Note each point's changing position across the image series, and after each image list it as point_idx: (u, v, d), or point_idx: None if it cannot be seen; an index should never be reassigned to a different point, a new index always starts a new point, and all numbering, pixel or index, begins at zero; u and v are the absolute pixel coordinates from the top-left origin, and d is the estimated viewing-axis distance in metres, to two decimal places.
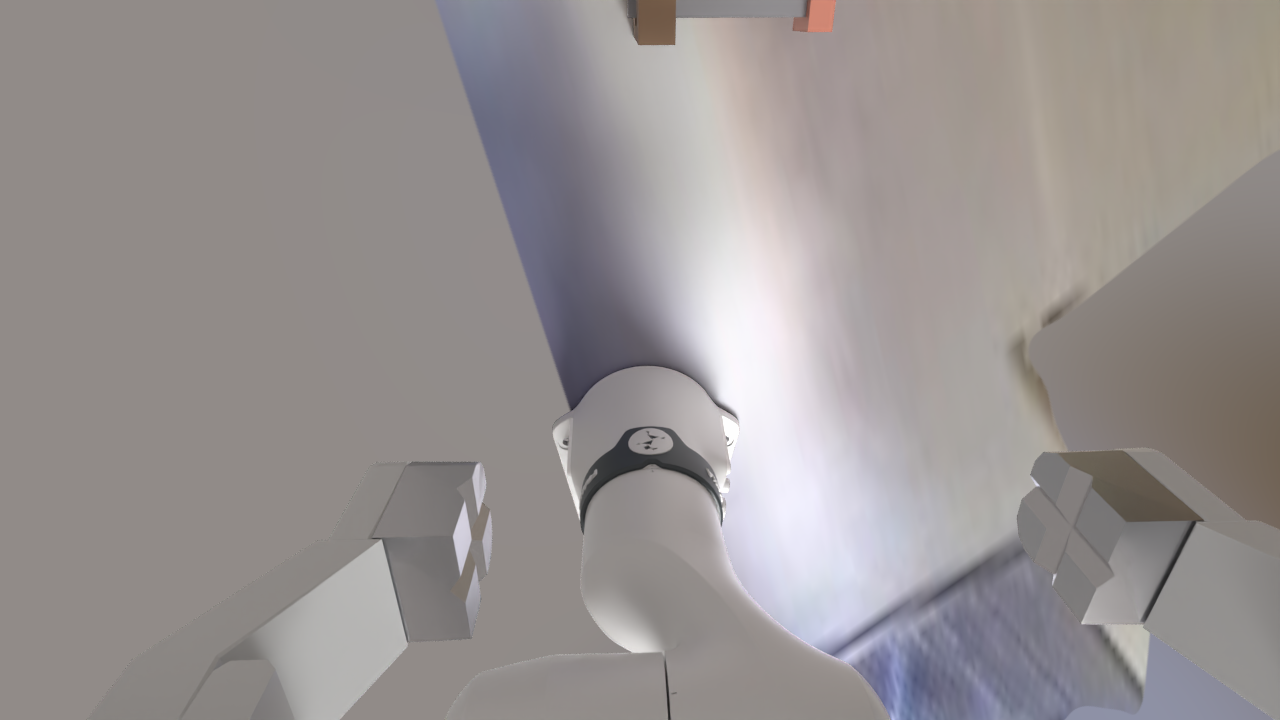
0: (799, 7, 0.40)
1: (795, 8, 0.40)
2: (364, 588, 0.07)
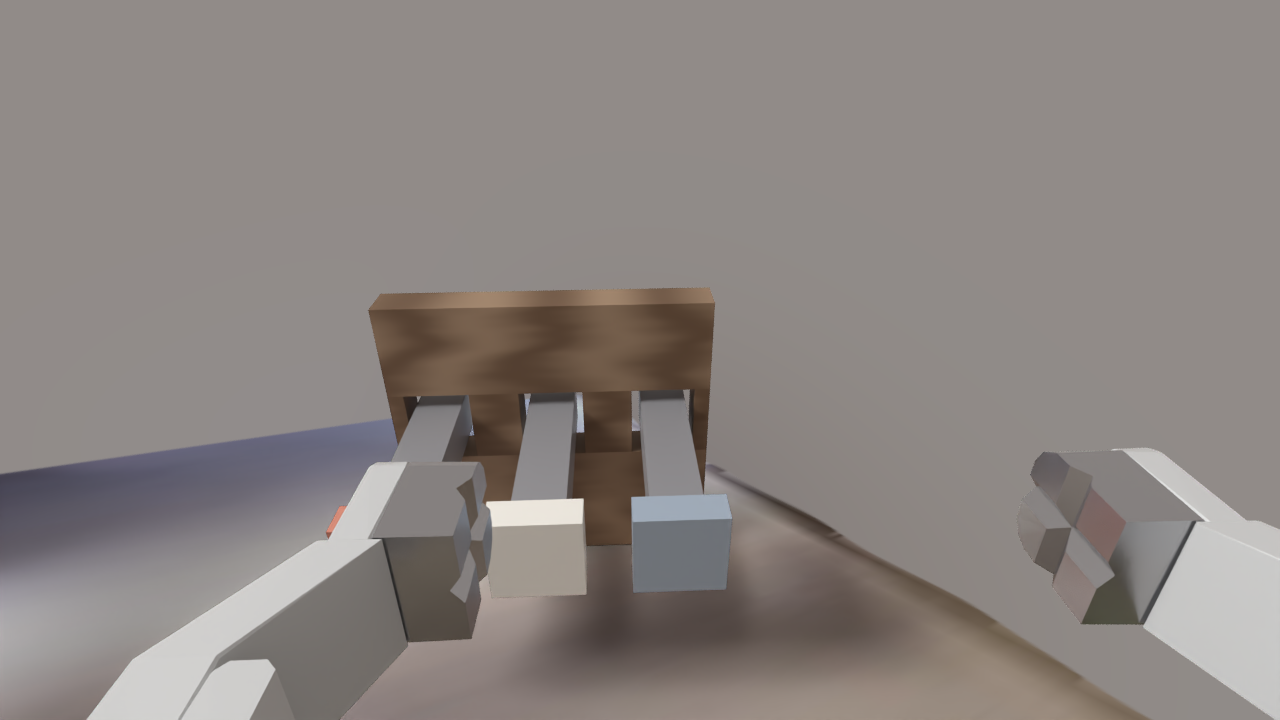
0: None
1: None
2: (364, 588, 0.07)
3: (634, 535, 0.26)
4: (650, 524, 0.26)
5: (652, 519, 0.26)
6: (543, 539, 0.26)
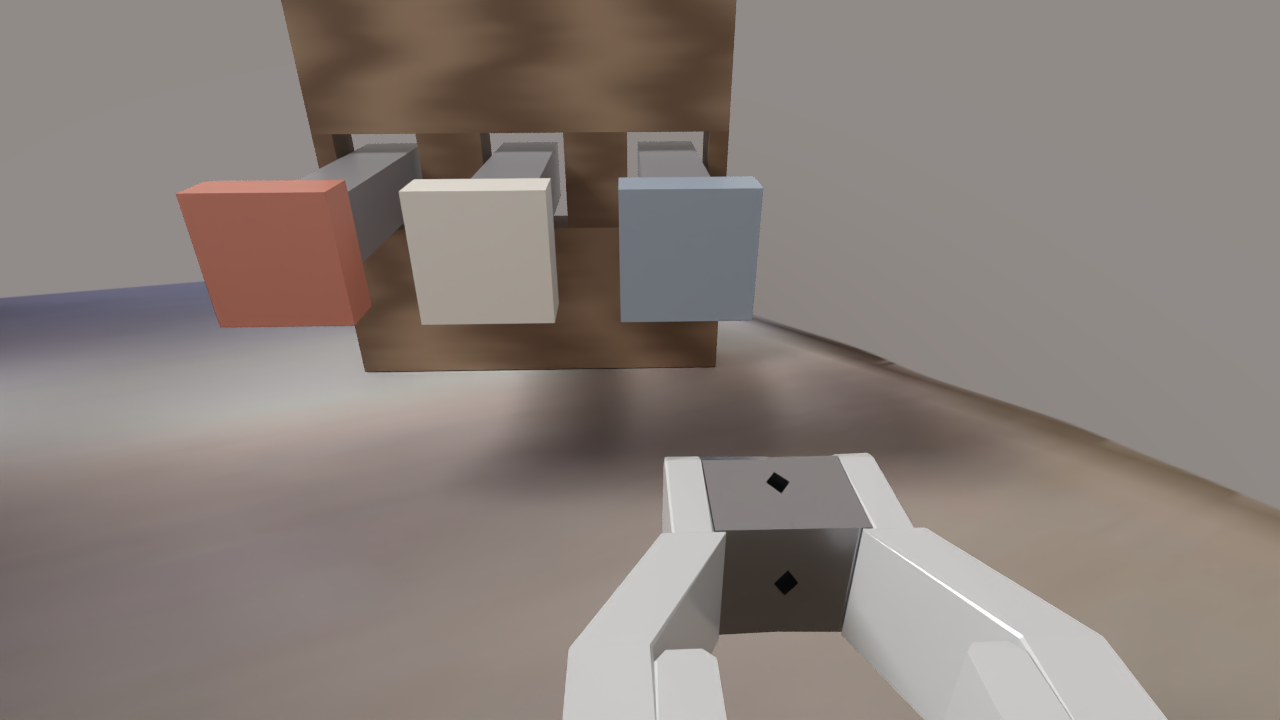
0: None
1: None
2: (712, 580, 0.08)
3: (621, 215, 0.18)
4: (644, 195, 0.18)
5: (647, 189, 0.18)
6: (490, 219, 0.18)
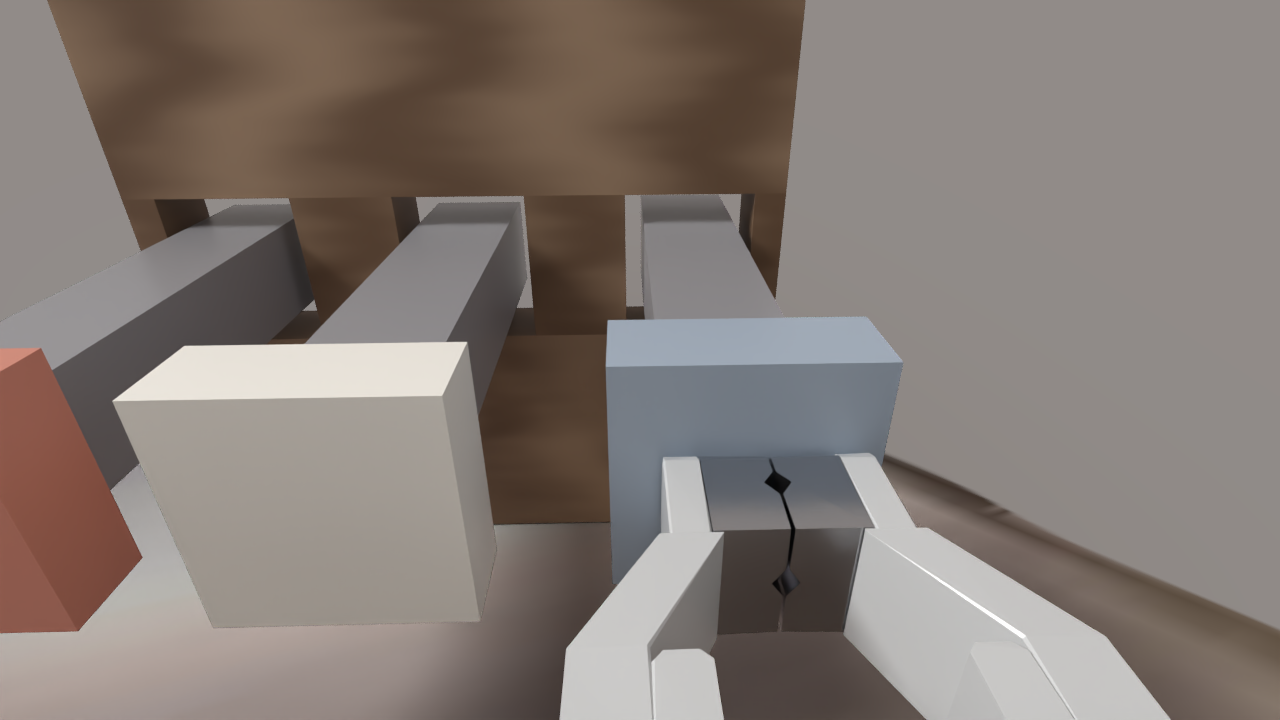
0: None
1: None
2: (710, 580, 0.08)
3: (612, 412, 0.09)
4: (658, 377, 0.09)
5: (665, 363, 0.09)
6: (326, 450, 0.08)
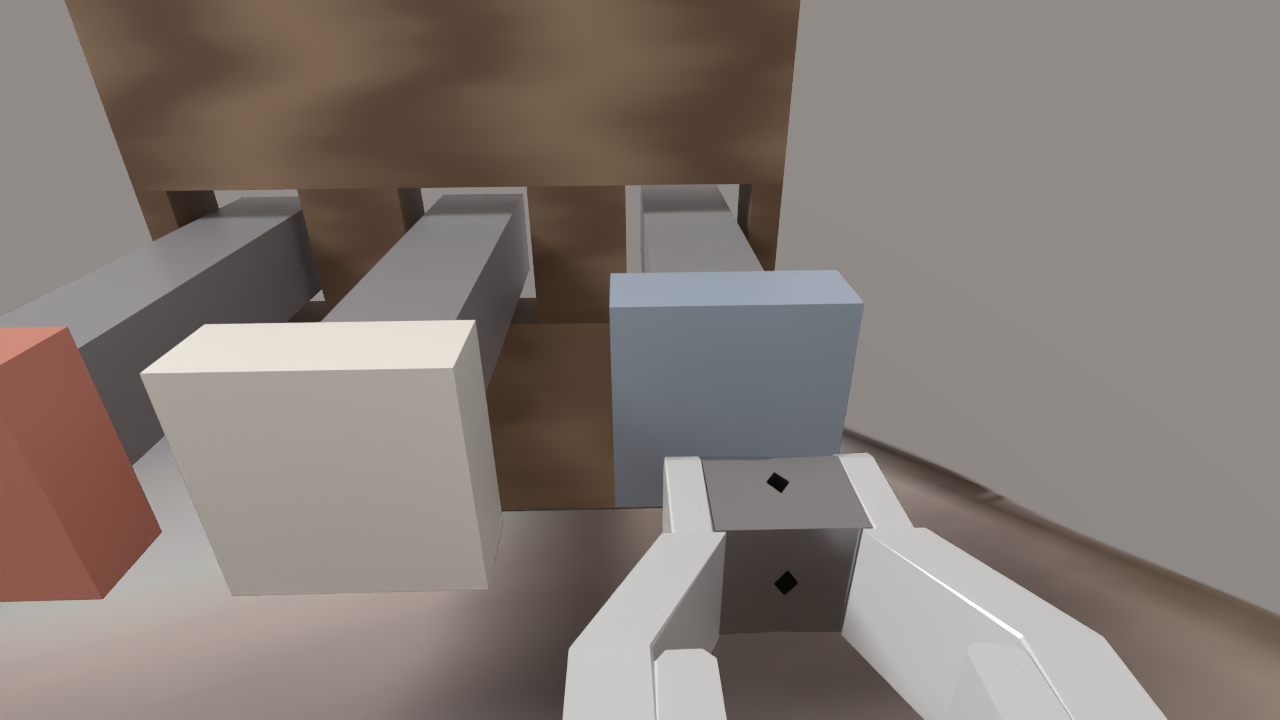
0: None
1: None
2: (712, 580, 0.08)
3: (614, 348, 0.11)
4: (654, 317, 0.10)
5: (660, 305, 0.10)
6: (342, 421, 0.09)
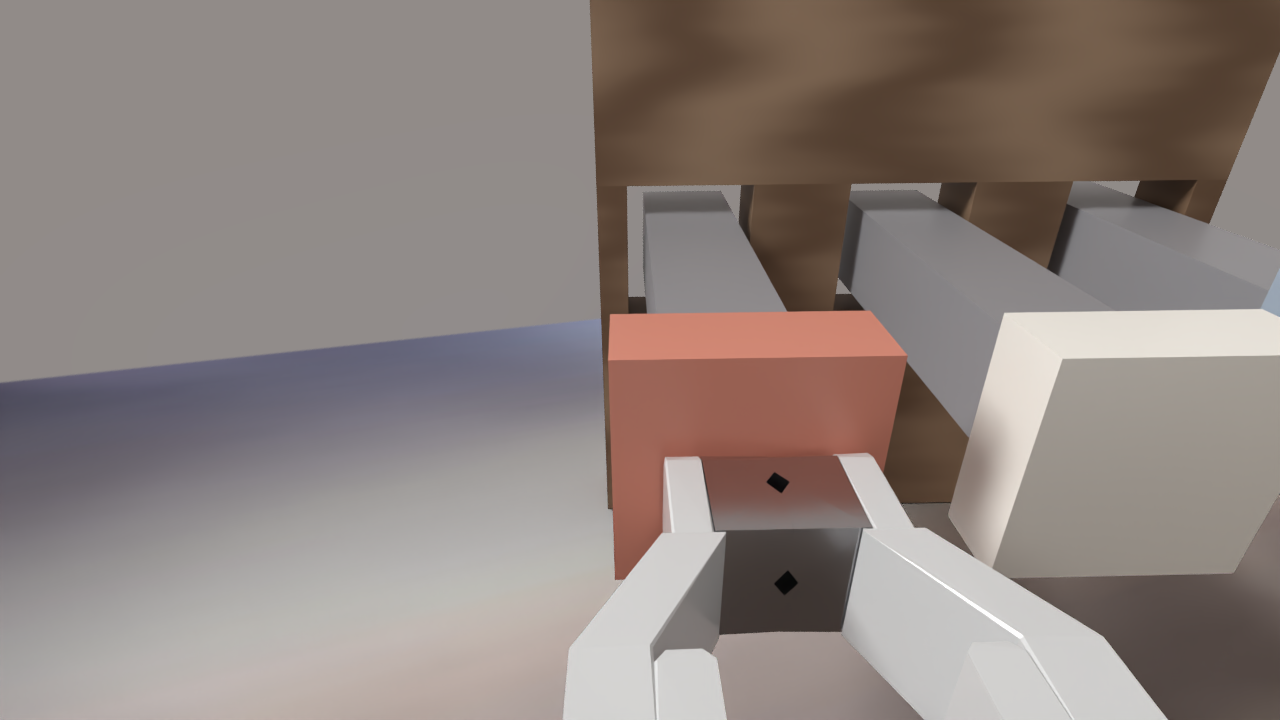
0: None
1: None
2: (712, 580, 0.08)
3: None
4: None
5: None
6: (1216, 406, 0.09)
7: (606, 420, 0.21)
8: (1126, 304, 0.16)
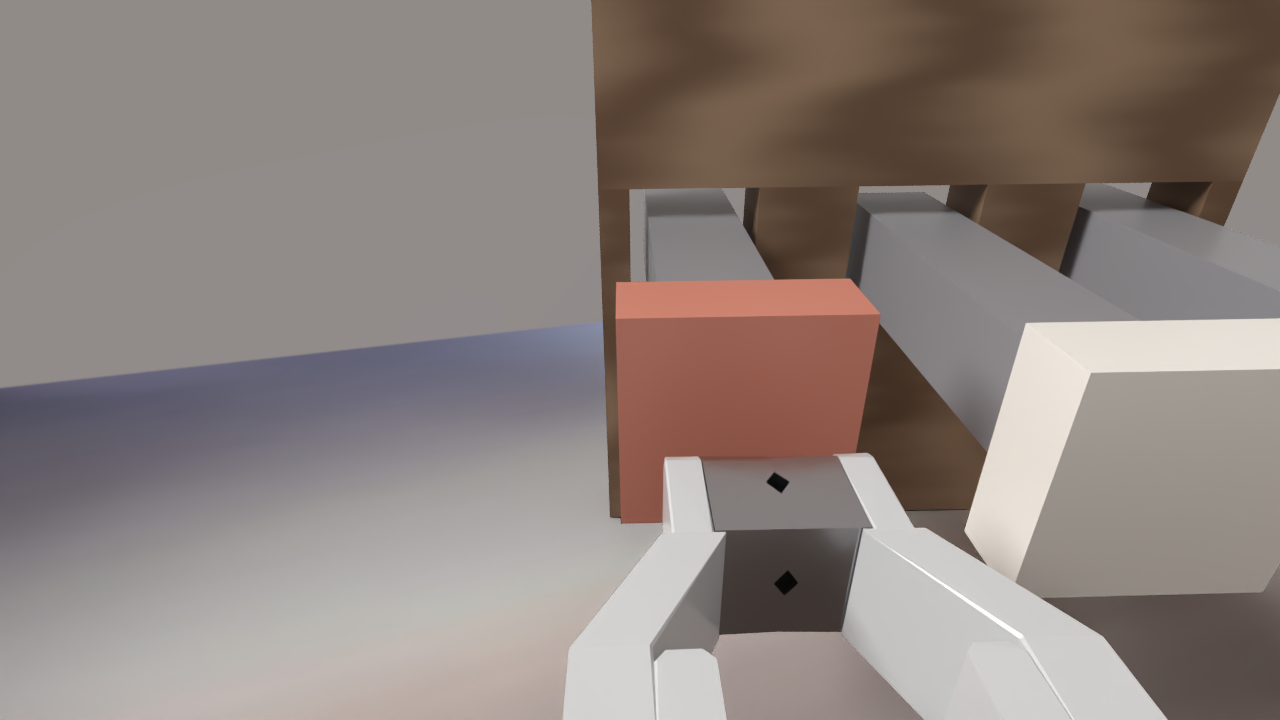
0: None
1: None
2: (712, 580, 0.08)
3: None
4: None
5: None
6: (1251, 421, 0.09)
7: (608, 427, 0.20)
8: (1141, 309, 0.16)
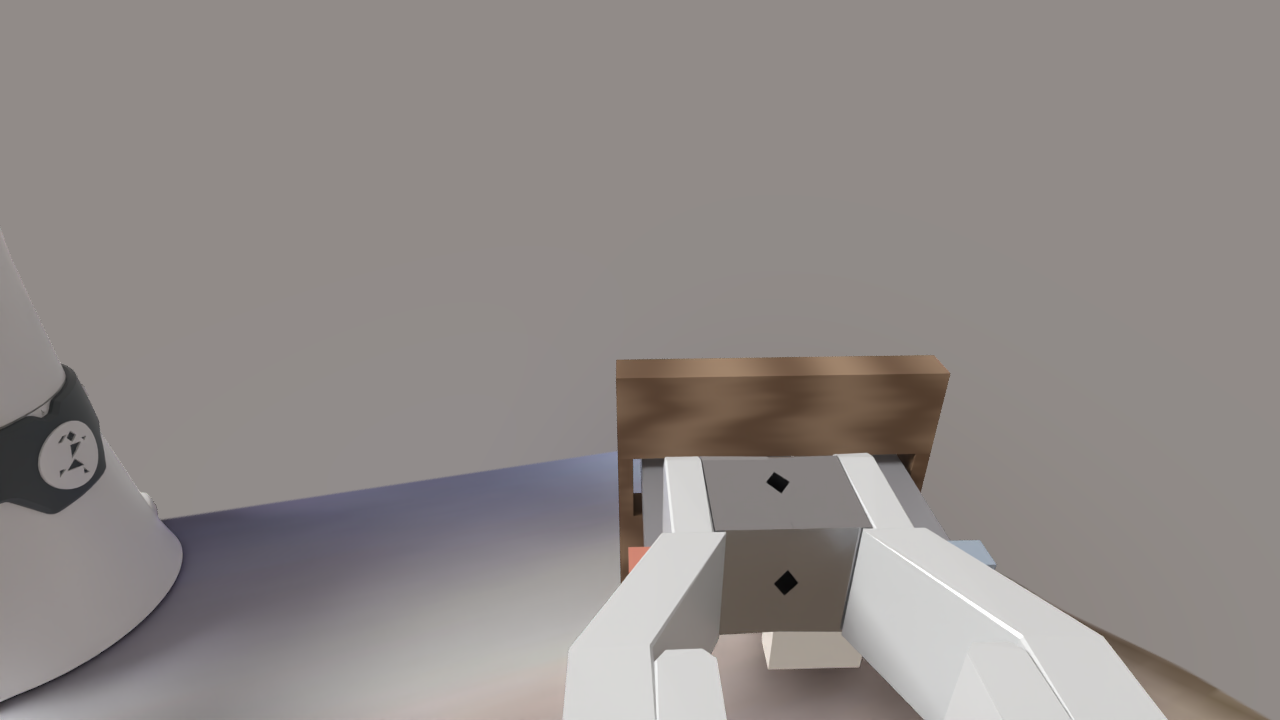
0: None
1: None
2: (712, 580, 0.08)
3: None
4: None
5: None
6: None
7: (621, 560, 0.39)
8: None
